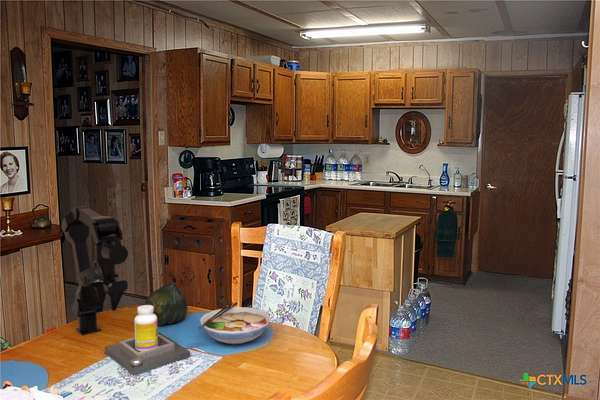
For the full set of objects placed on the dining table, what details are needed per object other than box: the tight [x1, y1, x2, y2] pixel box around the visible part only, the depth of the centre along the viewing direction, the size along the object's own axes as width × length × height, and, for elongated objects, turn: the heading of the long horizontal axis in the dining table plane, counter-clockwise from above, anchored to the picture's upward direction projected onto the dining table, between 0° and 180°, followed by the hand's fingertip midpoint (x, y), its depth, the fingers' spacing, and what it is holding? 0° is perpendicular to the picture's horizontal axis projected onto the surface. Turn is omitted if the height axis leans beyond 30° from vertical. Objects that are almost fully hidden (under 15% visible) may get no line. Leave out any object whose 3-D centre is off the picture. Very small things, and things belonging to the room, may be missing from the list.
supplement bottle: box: [133, 304, 159, 352], centre depth 160 cm, size 7×7×13 cm
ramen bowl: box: [197, 301, 272, 346], centre depth 172 cm, size 25×23×8 cm
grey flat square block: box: [104, 331, 191, 376], centre depth 161 cm, size 20×18×4 cm
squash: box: [144, 282, 189, 327], centre depth 188 cm, size 14×15×15 cm
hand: (107, 306), depth 166 cm, fingers open, 9 cm apart
